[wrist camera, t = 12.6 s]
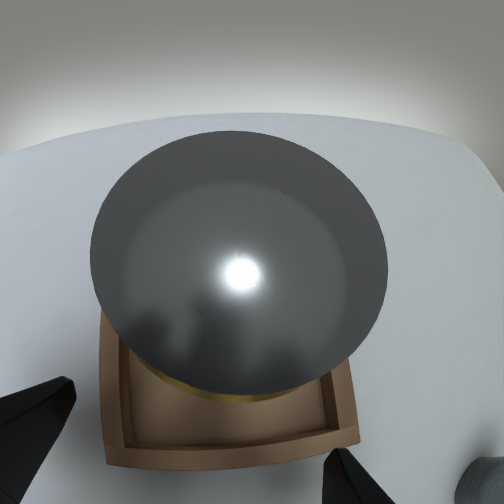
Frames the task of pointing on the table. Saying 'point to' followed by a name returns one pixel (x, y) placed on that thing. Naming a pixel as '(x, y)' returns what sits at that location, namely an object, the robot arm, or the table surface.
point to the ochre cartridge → (238, 265)
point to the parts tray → (215, 418)
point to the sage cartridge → (482, 482)
